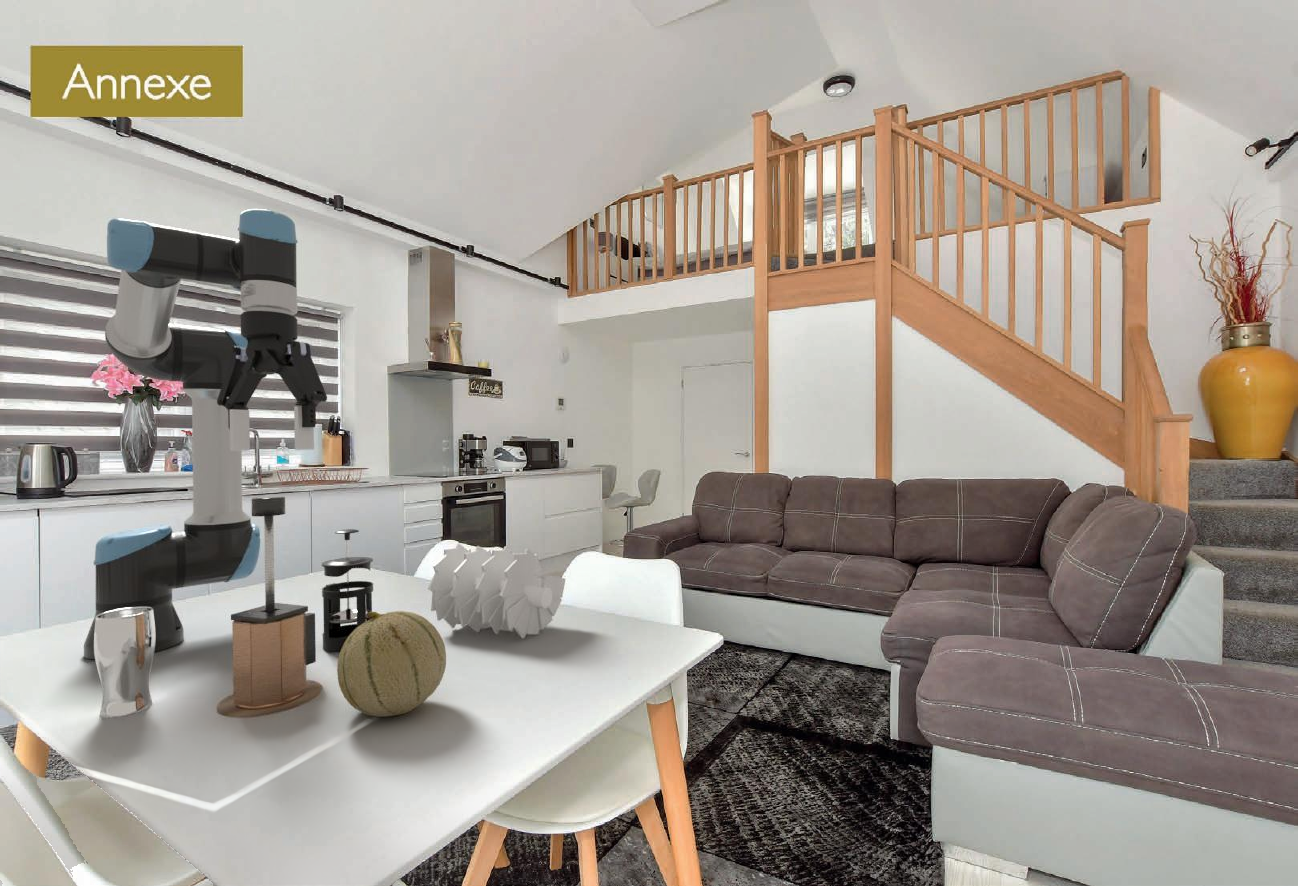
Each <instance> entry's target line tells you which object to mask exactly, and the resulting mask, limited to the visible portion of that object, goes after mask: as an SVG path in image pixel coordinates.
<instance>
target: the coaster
mask: <svg viewBox="0 0 1298 886" xmlns="http://www.w3.org/2000/svg"><path fill="white" fill-rule="evenodd" d="M323 689H324V686H323V685H322V683H321V682H319V681H316V680H312V679H307V684H306V692H305V693H304V695H303V696H301V697H300V698H298V699H296V700H294V701H292V702H290V703H287V704H284V705H281V706H277V707H273V708H267V709H260V710H244V709H240V708H238V707H236V704H234V696H233V693H231V695H228V696H227V697H225V698H223V699H222V700H221V701H219V702H218V704H217V705H216V708H215V710H216V713H217V714H219V715H220V716H224V717H227V718H234V719H235V718H236V719H237V718H238V719H241V718H242V719H245V718H257V717H263V716H264V717H265V716H269V715H273V714H278V713H282V712H286V711H288V710H292V709H294V708H298V707H300V706H303V705H305V704H307V703H309V702H311V701H312V700H314V699H316V698H317V697H318V696H319V695H320V694H321V693H322V692H323Z"/></svg>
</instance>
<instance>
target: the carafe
mask: <svg viewBox="0 0 1298 886" xmlns="http://www.w3.org/2000/svg"><path fill="white" fill-rule="evenodd" d="M230 621H232V622H231V623H232V630H231V631H232V685H233V690H232V691H233V693H232V694H233V696H234V704H236V707H238V708H240V709H244V710H260V709H267V708H273V707H277V706H281V705H284V704H287V703H290V702H292V701H294V700H296V699H298V698H300V697H301V696H303V695H304V693H305V692H306V684H307V680H308V679H307V666H308V665H310V664H314V663H315V662H317V661H316V660H317V659H316V656H317V655H316V654H317V653H316V652H317V651H316V646H317V645H316V613H315V612H309V606H308V605H300V604H289V603H281V602H275V611H273V612H269V613H268V612H266V604H265V605H261V606H258V607H254V608H251V609H247V610H243V611H239V612H236V613H232V614H230Z"/></svg>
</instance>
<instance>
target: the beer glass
mask: <svg viewBox="0 0 1298 886" xmlns="http://www.w3.org/2000/svg"><path fill="white" fill-rule="evenodd" d="M94 617H95V616H94ZM95 618H96V621H95V632H94V655H95V660H94V661H95V665H96V669H97V673H98V676H99V681H100V685H101V691H102V692H101V693H102V701H101V707H100V712H99V717H100V718H102V719H116V718H117V719H118V718H122V717H126V716H127V717H128V716H131V715H134V714H138V713H141V712H143V711H145V710H147V709H150V708H151V707H152V705H153V704H154V703H153V701H152V700H153V699H152V696H151V695H152V694H151V692H150V678H151V672H152V666H153V661H154V656H155V652H154V651H155V640H156V633H155V621H154V613H153V608H152V607H130V608H122V609H117V610H112V611H108V612H104V613H101V614H99V615H97V616H96V617H95Z"/></svg>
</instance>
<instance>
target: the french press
mask: <svg viewBox="0 0 1298 886" xmlns="http://www.w3.org/2000/svg"><path fill="white" fill-rule="evenodd" d="M359 532H360V530H358V529H354V528H347V529H341V530H337V531H335V533H334V534H338V535H343V534H344V536H343V537H344V541H345V543H346V544H345V545H346V546H345V547H346V550H345V551H346V557H342V558H334V559H329V560H326V561H322V563H321V566H322V567H323V571H324V576H326V577H331V578H332V577H333V578H334V577H335V578H337V577H342V576H344V575H346V581H344V582H338V583H335V582H334V583H329V584H326V585H325V586H324V587H322V588H321V597H322V599H323V602H322V604H323V633H322V649H323V650H322V651H324V652H327V653H331V654H332V653H335V654H340V652H341V649H342V647H343V645H344V643H345V641H346V640H347V638H348V637H349V635H350V634H351V633H352V632H353V631H354V630H355V629H356V628H357V627H358V626H360V625H361V624H363V623H365V622H366V621H368V620H370V619H372V617H371V618H367V615H368V613H369V612H373V602H372V601H373V600H372V599H373V598H372V597H373V596H372V593H373V592H374V582H372V581H367V580H356V581H355V580H354V581H350V571H351V570H352V569H365V570H368V571H371V563H372V562H373V561H374V559H373V558H372V557H367V556H350V555H349V541H350V540H351V534H355V533H359ZM355 588H356V589H355ZM357 588H358V589H357ZM350 589H351V590H350ZM352 589H353V590H352ZM341 590H343V591H341ZM345 590H346V591H345ZM351 598H352V599H353V598H356V608H355V609H354V608H350V599H351ZM343 599H346V602H347V603H346V604H347V605H346V607H347V608H346V609H344V610H341V600H343ZM353 623H354V624H353Z"/></svg>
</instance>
